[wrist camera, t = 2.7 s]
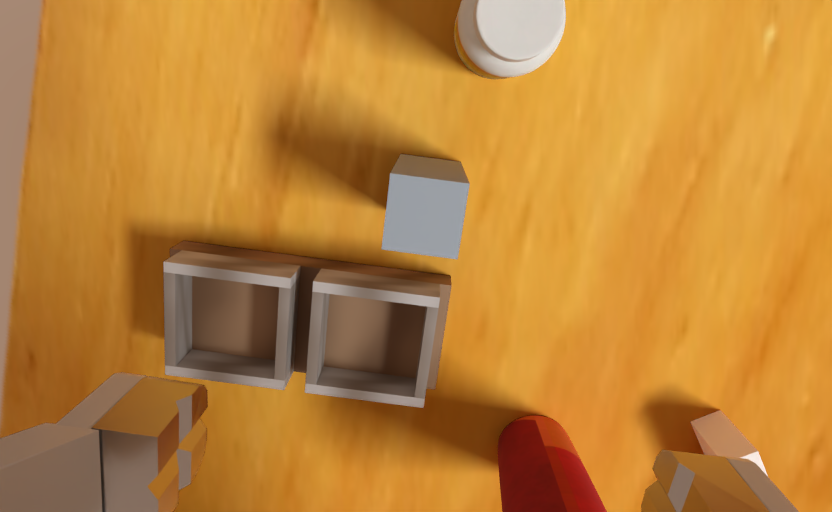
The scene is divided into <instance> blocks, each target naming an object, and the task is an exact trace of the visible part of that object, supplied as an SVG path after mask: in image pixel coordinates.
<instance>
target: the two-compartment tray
mask: <svg viewBox="0 0 832 512" xmlns="http://www.w3.org/2000/svg"><path fill="white" fill-rule="evenodd" d="M163 265H164V330H165V375H172V376H180V377H187V378H195V379H203V380H211V381H218V382H226V383H234V384H242V385H249V386H257V387H265V388H273V389H280V390H284V389H285V387H286V385H287V383H288V381H289V379H290V377H291V375H292V373H293V371H296V372H303V373H306V385H305V393H311V394H319V395H327V396H334V397H342V398H350V399H358V400H365V401H373V402H381V403H389V404H396V405H404V406H412V407H420V408H423V407H424V401H425V394H426V388H427V389H435V387H436V381H437V374H438V368H439V361H440V355H441V349H442V342H443V336H444V330H445V323H446V317H447V311H448V304H449V298H450V292H451V276H448V275H441V274H433V273H425V272H418V271H410V270H403V269H395V268H387V267H380V266H372V265H364V264H357V263H349V262H342V261H334V260H326V259H319V258H311V257H303V256H296V255H288V254H281V253H273V252H265V251H258V250H250V249H242V248H235V247H227V246H220V245H212V244H204V243H197V242H189V241H182V242H180V243H179V244H177V245H175V246H174V247H172V248H170V258H168V259H167V260H165V261H164V262H163Z"/></svg>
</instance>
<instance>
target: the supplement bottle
mask: <svg viewBox="0 0 832 512" xmlns="http://www.w3.org/2000/svg"><path fill="white" fill-rule="evenodd" d="M565 20H566V10H565V1H564V0H462V1H461V4H460V7H459V11H458V14H457V17H456V21H455V25H454V42H455V46H456V49H457V52H458V55H459V56H460V58H461V60H462V61H463V63H464V64H465V65H466V67H467V68H468V69H470V70H471V71H472V72H473V73H475V74H477V75H479V76H481V77H484V78H488V79H505V78H510V77H516V76H521V75H524V74H527V73H530V72H532V71H534V70H535V69H537V68H538V67H540V66H541V65H542V64H544V63H545V62H546V61H547V60H548V59H549V58H550V57H551V55H552V54H553V53H554V51H555V50H556V48H557V46H558V45H559V42H560V40H561V38H562V35H563V32H564V27H565Z"/></svg>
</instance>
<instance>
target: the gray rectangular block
mask: <svg viewBox="0 0 832 512" xmlns="http://www.w3.org/2000/svg"><path fill="white" fill-rule="evenodd" d="M468 190H469V181H468V179H467V176H466V174H465V171H464V169H463V166H462V164H461V162H459V161H451V160H444V159H436V158H429V157H421V156H414V155H406V154H400V156H399V158H398V160H397V162H396V164H395V165H394V167H393V169H392V171H391V173H390V180H389V189H388V197H387V206H386V215H385V224H384V233H383V242H382V249H383V250H390V251H398V252H406V253H413V254H421V255H428V256H436V257H444V258H451V259H458V253H459V247H460V241H461V234H462V228H463V222H464V216H465V209H466V203H467V197H468Z"/></svg>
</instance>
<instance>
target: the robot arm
mask: <svg viewBox="0 0 832 512" xmlns="http://www.w3.org/2000/svg"><path fill="white" fill-rule="evenodd" d="M207 407H208V400H207V389H206V387H205V386H204V385H201V384H195V383H189V382H183V381H176V380H170V379H164V378H158V377H151V376H149V377H148V376H146V375H139V374H131V373H123V372H121V373H114V374H113V375H112V376H111V377H109V378H108V379H107V380H106V381H105V382H104V383H102V384H101V385H100V386H99V387H98V388H97V389H96V390H94V391H93V392H92V393H91V394H90V395H89V396H87V397H86V398H85V399H84V400H83V401H82V402H80V403H79V404H78V405H77V406H76V407H75V408H73V409H72V410H71V411H70V412H69V413H68V414H66V415H65V416H64V417H63V418H62V419H61V420H60V421H58V422H57V423H56V424H51V423H44V424H41V425H38V426H35V427H32V428H29V429H26V430H23V431H20V432H18V433H15V434H12V435H9V436H6V437H3V438H0V512H173V511H174V509H175V508H176V506H177V505H178V498H179V490H180V489H182V488H184V487H186V486H187V485H189V484H191V482H192V481H193V479H194V477H195V476H196V474H197V472H198V470H199V467H200V465H201V462H202V459H203V456H204V453H205V447H206V441H207V428H206V426H205V425H204V424H203V422H202V421H201V419H200V417H201V415H202V414H203V413H204V411H205V410H206V408H207ZM653 471H654V473H655V475H656V477H657V481H656V482H654V483H653V484H652V485H651V486H649V487H648V488H647V489H646V490H645V494H644V497H643V501H642V504H641V512H798V510H797V509H796V508H795V507H794V506H793V505H792V504H791V502H790V501H789V500H788V499H787V498H786V497H785V496H784V495H783V493H782V492H781V491H780V490H779V489H778V488H777V487H776V485H775V484H774V483H773V482H772V481H771V480H770V479H769V478H768V476H767V475H766V474H765V473H764V472H763V471H762V470H761V469H760V467H759V466H758V465H757V464H756V463H754V462H752V461H750V460H749V459H744V458H735V457H725V456H712V455H704V454H695V453H687V452H678V451H670V450H662V451H661V452H660V453H659V454H658V456H657V457H656V460H655V463H654V466H653Z"/></svg>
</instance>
